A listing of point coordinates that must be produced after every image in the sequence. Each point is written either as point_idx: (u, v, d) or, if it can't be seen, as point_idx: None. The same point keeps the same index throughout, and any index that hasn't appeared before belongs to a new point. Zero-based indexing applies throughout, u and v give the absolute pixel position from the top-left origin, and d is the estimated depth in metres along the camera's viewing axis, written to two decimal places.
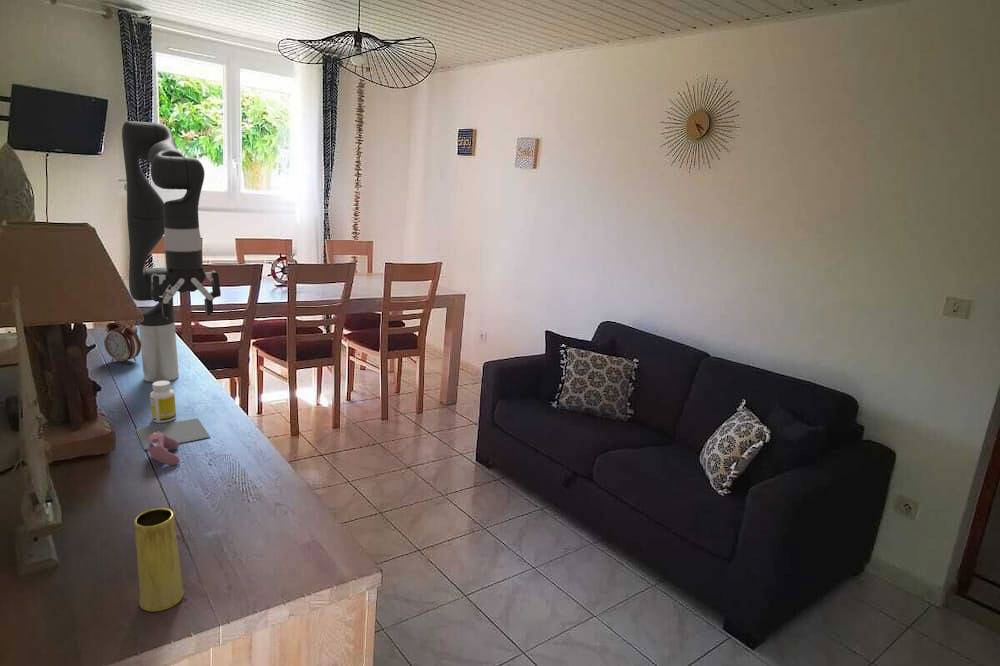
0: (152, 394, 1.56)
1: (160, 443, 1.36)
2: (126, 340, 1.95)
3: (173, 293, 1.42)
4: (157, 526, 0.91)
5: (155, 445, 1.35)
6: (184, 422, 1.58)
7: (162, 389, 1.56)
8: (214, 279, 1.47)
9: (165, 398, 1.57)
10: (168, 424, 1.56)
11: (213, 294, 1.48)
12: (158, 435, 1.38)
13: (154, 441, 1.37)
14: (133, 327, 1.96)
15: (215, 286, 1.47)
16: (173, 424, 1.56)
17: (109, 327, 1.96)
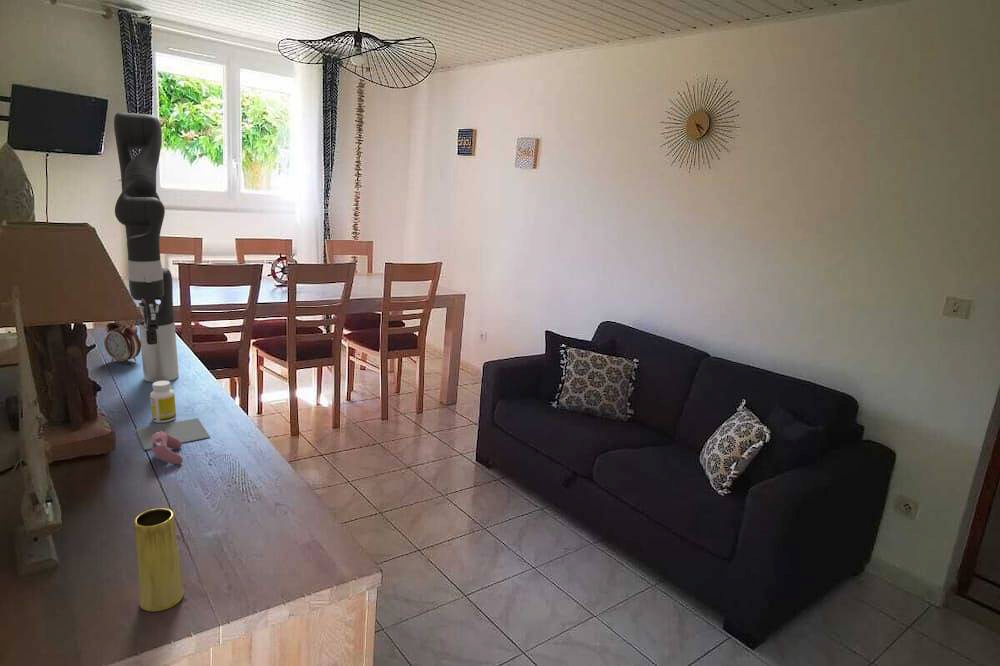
0: (152, 394, 1.56)
1: (163, 442, 1.37)
2: (126, 340, 1.95)
3: None
4: (157, 526, 0.91)
5: (158, 444, 1.36)
6: (184, 422, 1.58)
7: (162, 389, 1.56)
8: None
9: (165, 398, 1.57)
10: (168, 424, 1.56)
11: None
12: (161, 435, 1.39)
13: (157, 441, 1.37)
14: (133, 327, 1.96)
15: None
16: (173, 424, 1.56)
17: (109, 327, 1.96)
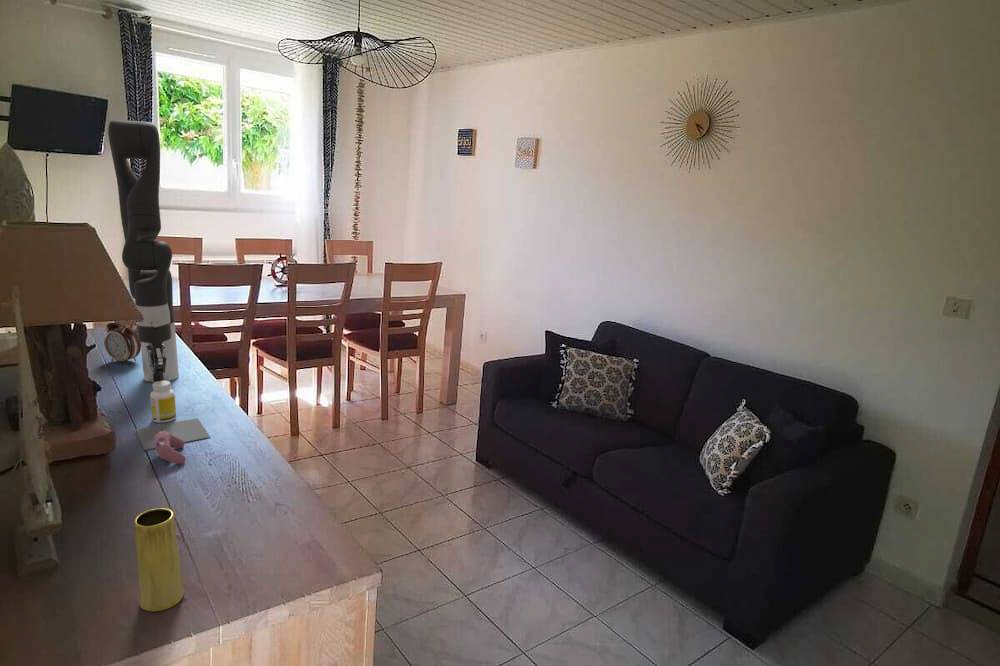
0: (152, 394, 1.56)
1: (166, 442, 1.37)
2: (126, 340, 1.95)
3: None
4: (157, 526, 0.91)
5: (161, 444, 1.36)
6: (184, 422, 1.58)
7: (162, 389, 1.56)
8: None
9: (165, 398, 1.56)
10: (168, 424, 1.56)
11: None
12: (164, 434, 1.39)
13: (160, 440, 1.37)
14: (133, 327, 1.96)
15: None
16: (173, 424, 1.56)
17: (109, 327, 1.96)
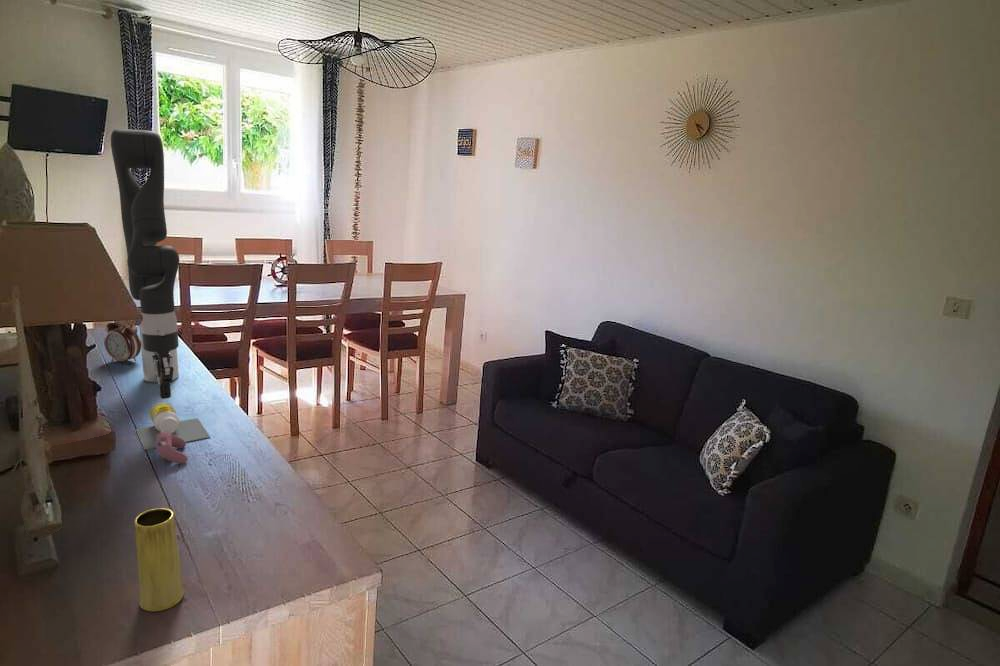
0: (158, 429, 1.50)
1: (168, 442, 1.37)
2: (126, 340, 1.95)
3: None
4: (157, 526, 0.91)
5: (163, 444, 1.36)
6: (184, 422, 1.58)
7: None
8: None
9: None
10: None
11: None
12: (166, 434, 1.39)
13: (162, 440, 1.38)
14: (133, 327, 1.96)
15: None
16: None
17: (109, 327, 1.96)
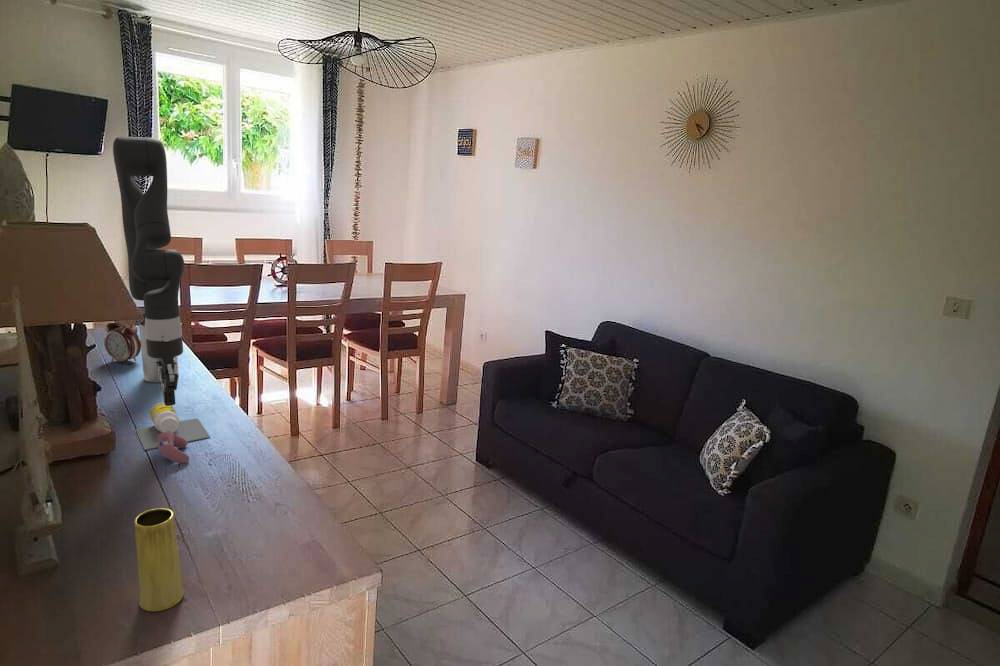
0: (158, 429, 1.50)
1: (170, 441, 1.37)
2: (126, 340, 1.95)
3: None
4: (157, 526, 0.91)
5: (165, 443, 1.36)
6: (184, 422, 1.58)
7: None
8: None
9: None
10: None
11: None
12: (167, 433, 1.39)
13: (164, 439, 1.38)
14: (133, 327, 1.96)
15: None
16: None
17: (109, 327, 1.96)
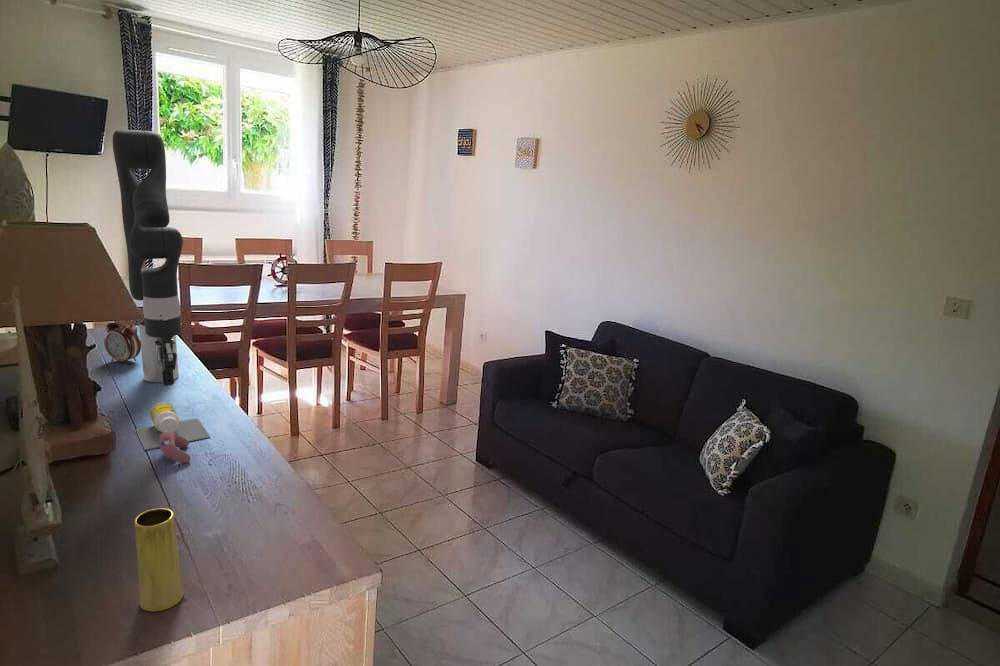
0: (158, 429, 1.50)
1: (171, 441, 1.38)
2: (126, 340, 1.95)
3: None
4: (157, 526, 0.91)
5: (167, 443, 1.37)
6: (184, 422, 1.58)
7: None
8: None
9: None
10: None
11: None
12: (169, 433, 1.40)
13: (165, 439, 1.38)
14: (133, 327, 1.96)
15: None
16: None
17: (109, 327, 1.96)
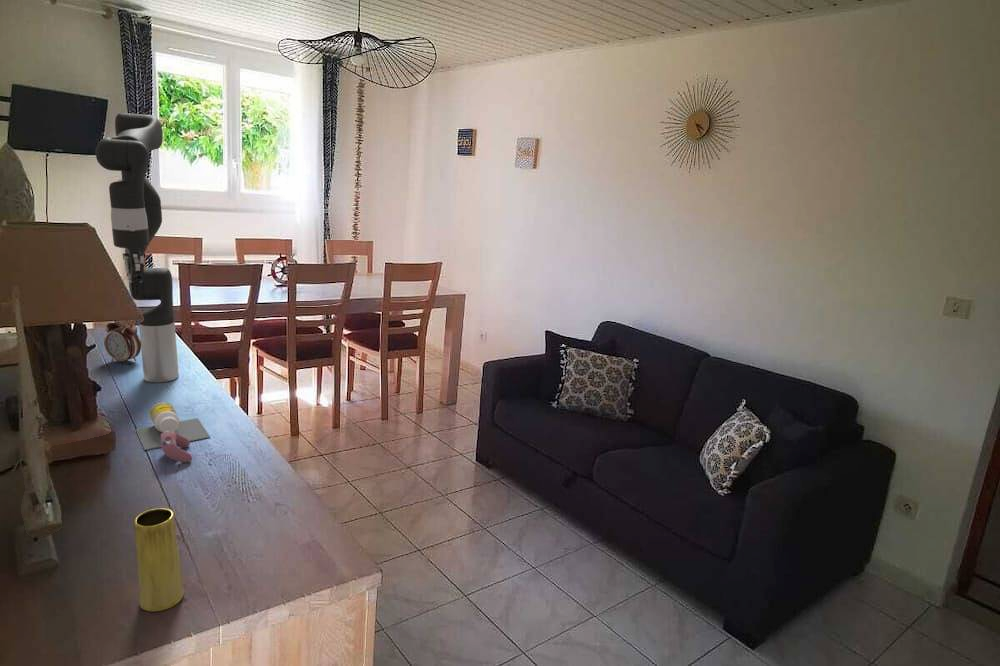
0: (158, 429, 1.50)
1: (173, 441, 1.38)
2: (126, 340, 1.95)
3: None
4: (157, 526, 0.91)
5: (168, 443, 1.37)
6: (184, 422, 1.58)
7: None
8: None
9: None
10: None
11: None
12: (170, 433, 1.40)
13: (167, 439, 1.38)
14: (133, 327, 1.96)
15: None
16: None
17: (109, 327, 1.96)
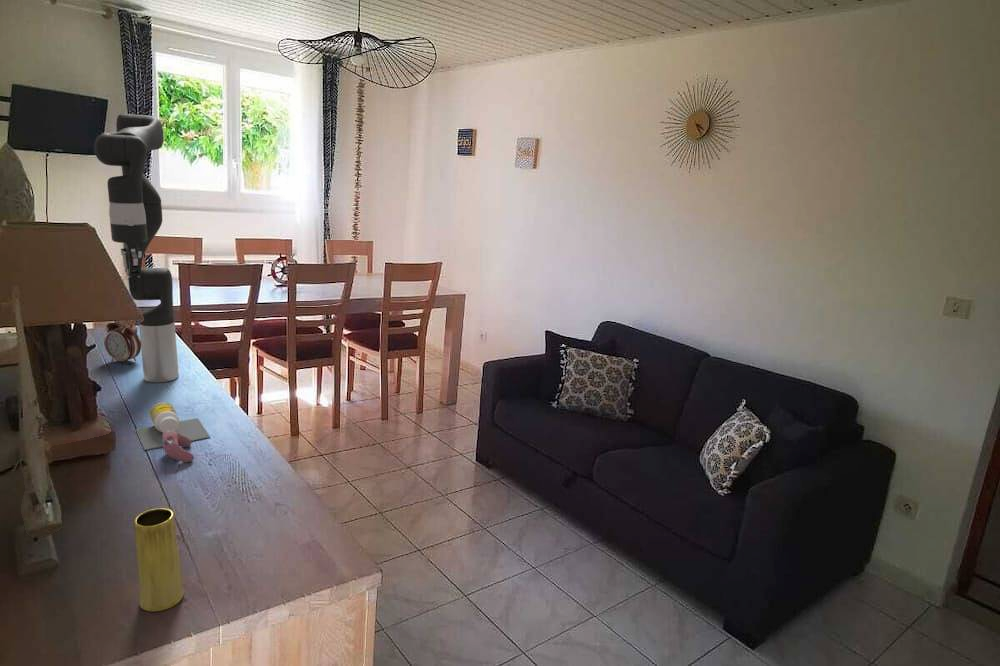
0: (158, 429, 1.50)
1: (175, 440, 1.38)
2: (126, 340, 1.95)
3: None
4: (157, 526, 0.91)
5: (170, 442, 1.37)
6: (184, 422, 1.58)
7: None
8: None
9: None
10: None
11: None
12: (172, 433, 1.40)
13: (168, 439, 1.38)
14: (133, 327, 1.96)
15: None
16: None
17: (109, 327, 1.96)
